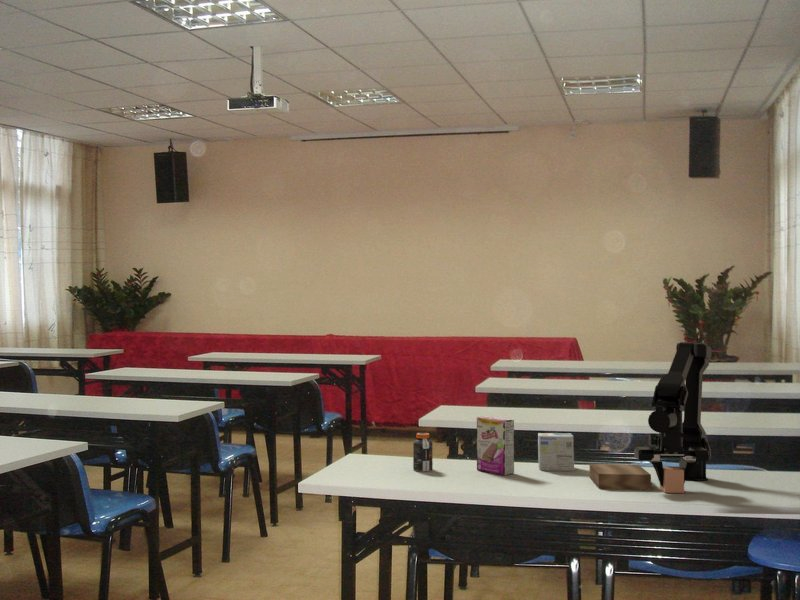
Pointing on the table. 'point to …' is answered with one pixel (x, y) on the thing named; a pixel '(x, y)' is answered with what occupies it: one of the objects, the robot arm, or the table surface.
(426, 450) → the pill bottle
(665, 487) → the terracotta block
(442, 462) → the table surface
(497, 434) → the candy bar box
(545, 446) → the light bulb box
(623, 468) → the walnut plinth
